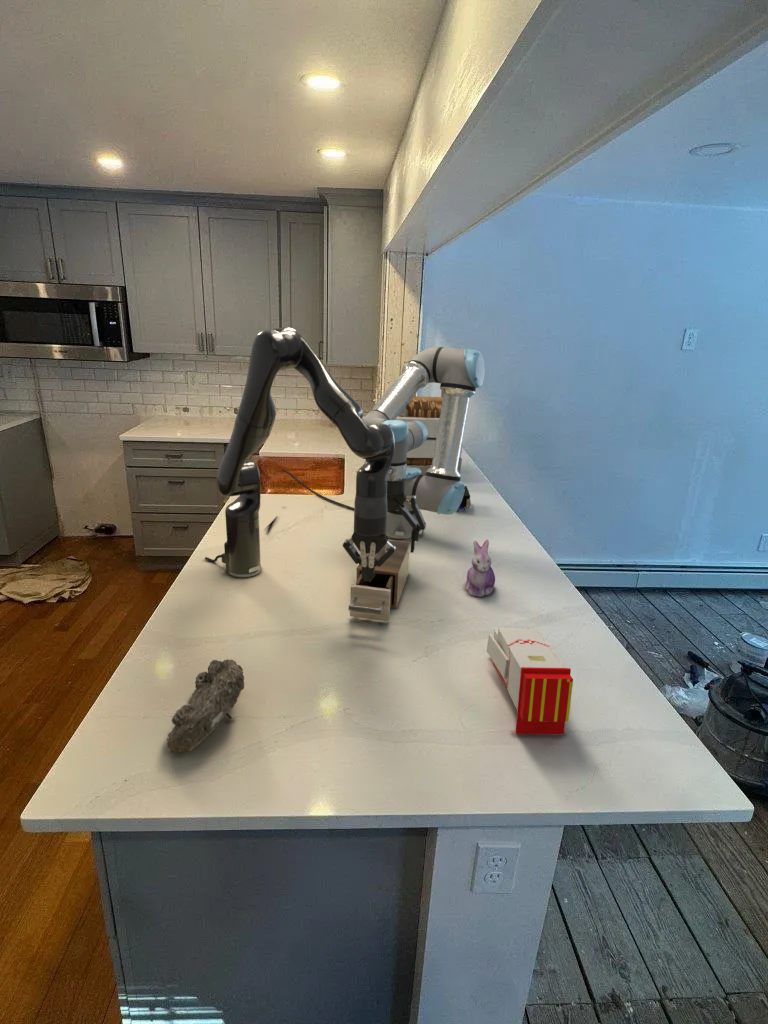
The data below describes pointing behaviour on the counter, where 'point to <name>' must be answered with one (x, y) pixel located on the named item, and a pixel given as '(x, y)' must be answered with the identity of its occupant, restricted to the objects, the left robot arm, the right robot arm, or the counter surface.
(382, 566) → the cabinet
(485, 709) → the counter surface
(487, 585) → the figurine
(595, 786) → the counter surface
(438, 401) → the white boxy container
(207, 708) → the fossil
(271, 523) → the feather
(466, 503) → the figurine character
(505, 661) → the toy
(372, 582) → the drawer
